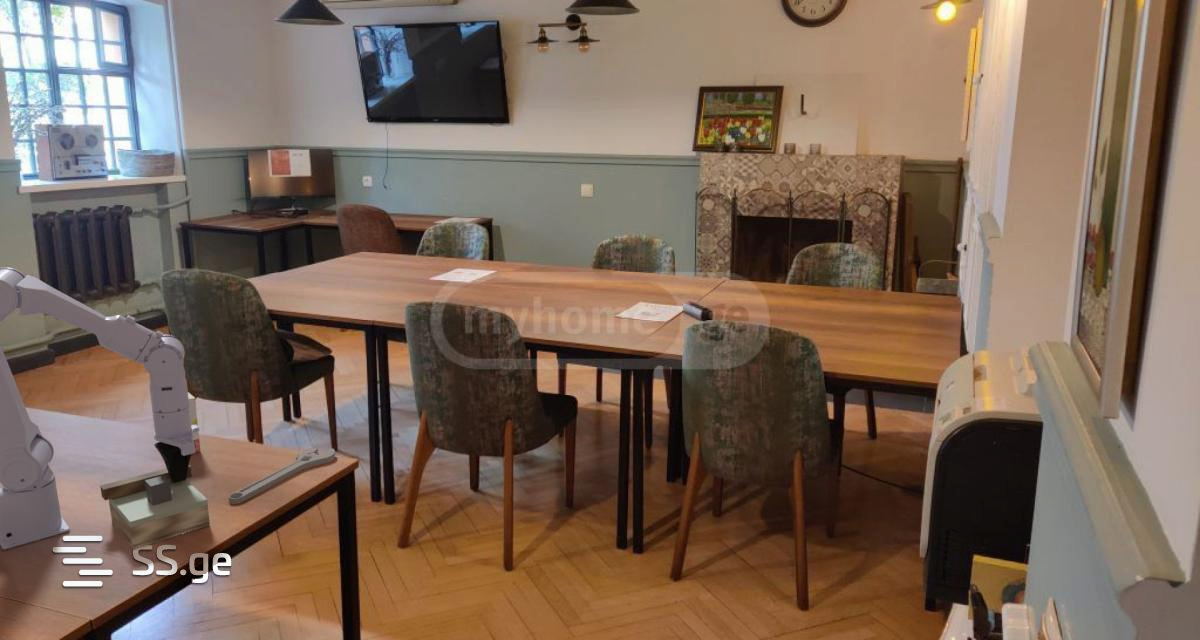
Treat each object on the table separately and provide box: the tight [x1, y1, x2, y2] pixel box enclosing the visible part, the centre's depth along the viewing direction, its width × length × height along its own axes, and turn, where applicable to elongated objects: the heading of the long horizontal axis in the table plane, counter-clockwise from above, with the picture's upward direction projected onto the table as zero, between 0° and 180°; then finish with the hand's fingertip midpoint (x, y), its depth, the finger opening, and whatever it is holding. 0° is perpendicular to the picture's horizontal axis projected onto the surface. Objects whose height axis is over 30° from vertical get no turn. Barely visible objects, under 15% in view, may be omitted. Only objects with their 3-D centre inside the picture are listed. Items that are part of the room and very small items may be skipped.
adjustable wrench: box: [228, 447, 336, 505], centre depth 167 cm, size 25×6×2 cm, turn 150°
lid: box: [108, 475, 209, 527], centre depth 146 cm, size 12×12×6 cm
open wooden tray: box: [108, 501, 211, 550], centre depth 148 cm, size 12×12×4 cm
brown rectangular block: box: [99, 464, 193, 501], centre depth 150 cm, size 14×2×2 cm, turn 133°
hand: (179, 480), depth 152 cm, fingers closed
